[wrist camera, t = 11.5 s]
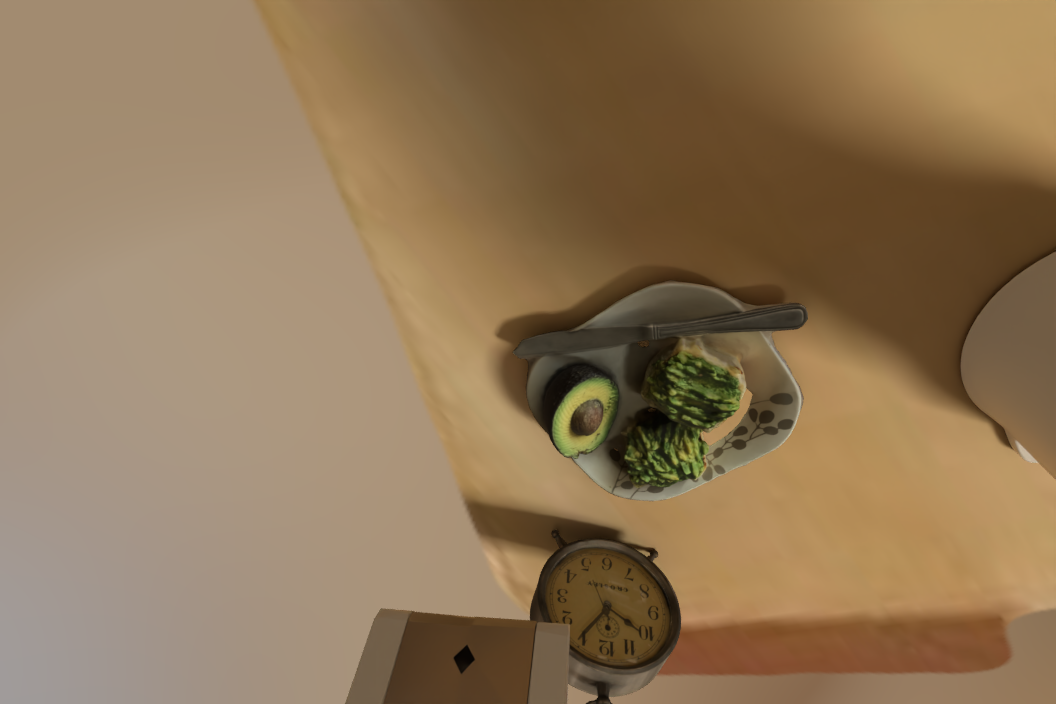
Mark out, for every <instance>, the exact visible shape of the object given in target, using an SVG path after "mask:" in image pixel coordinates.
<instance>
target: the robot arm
mask: <svg viewBox="0 0 1056 704" xmlns="http://www.w3.org/2000/svg"><path fill="white" fill-rule="evenodd" d="M961 377H962V381H963V384H964V387H965V390H966V392H967V394H968V395H969V397H970V398H971V400H972V401H973V402H974V404H975V405H976V406H977V407H978V408H979V409H980V410H982V411H983V412H984V413H986V414H987V415H988V416H990V417H991V418H992V419H994V420H995V421H996V422H997V423H998V424H1000V425H1001V426H1002V427H1003V428H1004V429H1005V432H1006V435H1007V438H1008V440H1009V443H1010V445H1011V447H1012V448H1013V449H1014V450H1015V451H1016V452H1017V453H1018V454H1019V455H1020V456H1021V457H1022V458H1023V459H1024V460H1026V461H1028V462H1031V463H1039V464H1040V465H1041V466H1042V467H1043V468H1044V469H1045V470H1046V471H1047V472H1048V473H1049V474H1050V475H1051V476H1052V477H1053V478H1054V479H1056V252H1054V253H1052V254H1050V255H1048V256H1046V257H1044V258H1043V259H1041V260H1039V261H1038V262H1036V263H1034V264H1033V265H1031V266H1030V267H1028V268H1027V269H1025V270H1024V271H1022V272H1021V273H1020V274H1018V275H1017V276H1016V277H1014V278H1013V279H1012V280H1011V281H1010V282H1008V283H1007V284H1006V285H1005V286H1004V287H1003V288H1002V289H1001V290H1000V291H998V292H997V294H996V295H995V296H994V297H993V298H992V299H991V300H990V301H989V302H988V303H987V305H986V306H985V307H984V308H983V310H982V311H981V312H980V314H979V315H978V317H977V318H976V320H975V321H974V323H973V325H972V327H971V329H970V331H969V333H968V335H967V338H966V340H965V343H964V347H963V350H962V355H961ZM569 644H570V624H559V623H546V622H538V623H537V621H530V620H515V619H501V618H486V617H466V616H455V615H444V614H433V613H422V612H414V611H406V610H394V609H380V611H379V613H378V614H377V616H376V617H375V619H374V621H373V625H372V627H371V630H370V633H369V636H368V639H367V642H366V645H365V647H364V650H363V654H362V656H361V659H360V662H359V665H358V668H357V671H356V674H355V677H354V680H353V682H352V685H351V688H350V691H349V694H348V697H347V700H346V703H345V704H567V695H568V670H569Z"/></svg>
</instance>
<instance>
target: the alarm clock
mask: <svg viewBox="0 0 1056 704" xmlns="http://www.w3.org/2000/svg"><path fill="white" fill-rule="evenodd" d="M552 537H553V538H555V539H556V541H557V544H558V546H559V548H560V549H558V550H557V551H556V552H555V553H554V554H553V555H552V556H551V557H550V558H549V559H548V560H547V562H546V563H545V565H544V567H543V569H542V571H541V574H540V577H539V581H538V585H537V588H536V590H535V593H534V596H533V599H532V603H531V609H530V621H537V623H538V622H546V623H559V624H570V644H569V670H568V684H570V685H571V686H573V687H575V688H577V689H579V690H581V691H584V692H586V693H589V694H593V695H597V696H598V698H597V699H596V700H595V701H589V702H588V703H586V704H612V703H611V702H610V700H609V697H615V696H623V695H627V694H630V693H633V692H635V691H637V690H640V689H641V688H643V687H644V686H646V685H647V684H648V683H649V682H651V681H652V680H653V679H654V677H655V676H656V675H657V674H658V672H659V671H660V669H661V668H662V666H663V664H664V663H665V661H666V660H667V658H668V657H669V655H670V654H671V652H672V651H673V649H674V647H675V645H676V644H677V641H678V638H679V634H680V629H681V615H680V608H679V603H678V600H677V597H676V594H675V592H674V590H673V588H672V586H671V584H670V582H669V581H668V579H667V577H666V576H665V575H664V573H663V572H662V571H661V570H660V569H659V568H658V567H657V566H656V565H655V564H654V563H653V562H652V561H653V560H654V558H656V557H658V552H657V551H656V550H653V551H651V552H650V556H648V557H646V556H645V555H643V554H642V553H640V552H639V551H637V550H635V549H634V548H632V547H630V546H628V545H625V544H623V543H620V542H616V541H612V540H607V539H598V538H590V539H582V540H577V541H574V542H571V543H569V544H567V543H566V542H565V541H564V540H563V539H562V538H561V536H560V535H559V531H558V530H553V531H552Z"/></svg>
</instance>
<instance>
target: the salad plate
mask: <svg viewBox="0 0 1056 704" xmlns="http://www.w3.org/2000/svg"><path fill="white" fill-rule="evenodd" d="M807 319H808V312H807V310H806V307H805V306H804V305H802V304H799V303H780V304H772V305H761V306H755V305H750V304H747V303H743V302H741V301H740V300H738V299H736V298H734V297H732V296H731V295H730V294H728V293H726V292H725V291H723V290H721V289H719V288H716V287H712V286H705V285H701V284H694V283H686V282H678V281H672V280H670V281H666V282H663V283H658V284H654V285H650V286H648V287H646V288H644V289H641V290H639V291H637V292H634V293H632V294H630V295H628V296H626V297H624V298H622V299H621V300H619V301H616V302H615V303H614V304H612V305H611V306H610V307H608V308H607V309H605V310H604V311H602V312H600V313H599V314H597V315H596V316H594V317H593V318H592V319H590V320H588V321H587V322H585V323H584V324H582V325H580V326H577V327H575V328H573V329H569V330H564V331H556V332H549V333H545V334H541V335H537V336H534V337H531V338H528V339H524V340H522V341H521V342H520V344H519V345H518V347H517V348H516V349H515V350H514V351H513V353H514V354H515V355H516V356H517V357H518V358H520V359H526V360H527V361H528V374H527V383H526V395H527V400H528V403H529V407H530V409H531V411H532V413H533V415H534V417H535V418H536V420H537V421H538V423H539V424H540V426H541V427H542V428H543V429H544V430H545V431H546V432H547V433H548V434H549V437H550V439H551V441H552V443H553V445H554V446H555V448H556V449H557V450H558V451H559V452H560V454H562V455H563V456H564V457H567V458H569V457H571V458H572V459H573V461H574V462H575V463H576V464H577V465H578V466H579V467H580V468H581V469H582V470H583V471H584V472H585V473H586V474H587V475H588V476H589V477H590V478H591V479H592V480H593V481H594V482H595V483H597V484H598V485H599V486H600V487H601V488H603V489H604V490H606V491H607V492H609V493H611V494H613V495H616V496H618V497H622V498H626V499H631V500H643V501H658V500H666V499H669V498H672V497H676V496H678V495H681V494H683V493H685V492H688V491H690V490H692V489H694V488H696V487H698V486H700V485H702V484H705V483H706V482H709V481H711V480H713V479H715V478H716V477H718V476H721V475H724V474H726V473H727V472H729V471H731V470H733V469H736V468H738V467H741V466H745V465H747V464H748V463H749V462H751V461H754V460H756V459H758V458H760V457H762V456H764V455H765V454H767V453H769V452H771V451H773V450H775V449H777V448H778V447H779V446H780V445H782V444H783V443H784V442H785V441H786V440H787V438H788V437H789V436H790V434H791V433H792V431H793V429H794V427H795V425H796V422H797V418H798V416H799V413H800V410H801V408H802V405H803V399H804V398H803V395H802V392H801V389H800V386H799V385H798V383H797V381H796V380H795V379H794V377H793V376H792V373H791V370H790V368H789V367H788V365H787V364H786V361H785V360H784V359H783V357H782V356H781V355H780V353H779V351H777V350H776V348H775V346H774V342H773V340H772V336H771V334H772V333H773V332H775V331H781V330H791V329H792V330H794V329H798V328H800V327H802V326H803V325H804V324H805V322H806V321H807ZM645 340H648V341H649V346H648V347H640V346H639V345H638V343H637V342H639V341H645ZM746 388H747V389H748V390H749V391H750V392H751V393H752V394H753V396H752V399H751V403H750V406H749V408H748V411H747V412H746V414H745V415H744V417H743V418H742V420H741V422H740V423H739V424H738V425H737V426H736V427H735V428H734V429H733V430H732V431H731V432H730V433H729V434H728V435H727V436H725V437H724V438H722V439H721V440H719V441H717V442H716V443H714V444H712V445H711V446H708V445H707V443H706V442H705V441H704V439H703V433H702V431H705V432H707V433H710V432H711V431H712V430H713V429H714V428H717V427H719V426H720V425H721V424H722V423H723V422H724V421H725V420H726V419H727V418H728V417H730V416H732V415H733V414H734V412H735V411H737V410H738V409H739V405H740V402H739V401H740V400H741V399H742V398H743V394H744V392H745V391H746ZM650 408H655V409H656V410H655V411H652V412H650V411H648V409H650ZM615 449H617V450H618V451H617V450H615Z"/></svg>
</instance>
